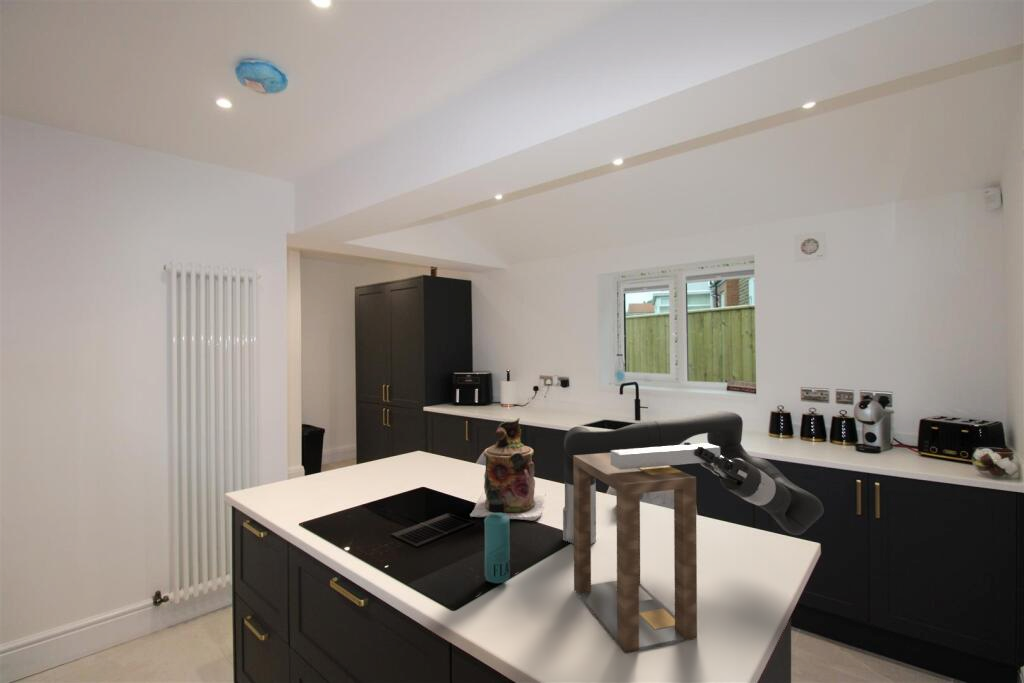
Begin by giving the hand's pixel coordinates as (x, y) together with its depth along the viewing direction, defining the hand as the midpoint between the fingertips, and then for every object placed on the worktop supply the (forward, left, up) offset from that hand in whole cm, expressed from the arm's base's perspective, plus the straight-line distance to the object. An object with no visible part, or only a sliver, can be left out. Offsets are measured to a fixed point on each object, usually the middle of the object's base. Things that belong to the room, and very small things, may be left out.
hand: (691, 448), depth 102 cm
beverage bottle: (-45, -1, -36) cm, 58 cm away
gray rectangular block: (-5, -4, -3) cm, 7 cm away
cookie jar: (-60, +49, -36) cm, 86 cm away
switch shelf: (-13, -3, -36) cm, 38 cm away
